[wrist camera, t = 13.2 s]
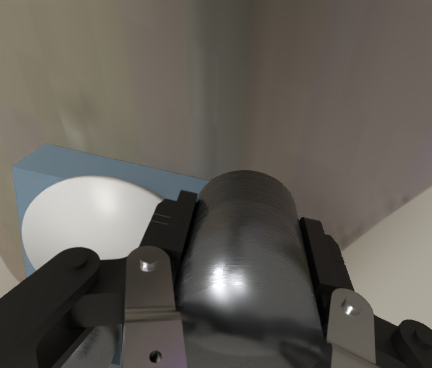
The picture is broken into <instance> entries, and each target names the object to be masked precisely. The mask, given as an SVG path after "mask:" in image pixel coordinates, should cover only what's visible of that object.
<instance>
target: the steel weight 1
mask: <svg viewBox="0 0 432 368" xmlns="http://www.w3.org/2000/svg"><path fill="white" fill-rule="evenodd" d="M121 331H122V324H116V325H106V326H96V327H95V328H94V329H93V331H92V332H91V333H90V334H89V335H88V336H87V338H86V339H85V340H84V341H83V342H82V343H81V345H80V346H79V347H78V348H77V349H76V350H75V352H74V353H73V354H72V355H71V356H70V357H69V359H68V360H67V361H66V362H65V363H64V364H63V366H62V367H61V368H109V367H110V365H111V362H112V360H113V357H114V355H115V352H116V350H117V347H118V345H119V342H120V340H121Z"/></svg>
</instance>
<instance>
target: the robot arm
mask: <svg viewBox="0 0 432 368" xmlns="http://www.w3.org/2000/svg"><path fill="white" fill-rule="evenodd" d="M197 196H198V193H194V192H190V191H185V190H180V193H179V196H178V199H177V201H175V200H170V199H164V200H163V201H161V202H160V203H159V204H157V207H156V209H155V211H154V214H153V216H152V218H151V221H150V222H149V225H148V227H147V229H146V231H145V234H144V236H143V238H142V240H141V243H140V245H139V247H138V248H136V249H134V250H133V251H131V252H130V254H129V255H128V256H127V257H124V258H120V259H106V260H100V258H99V256H98V254H97V253H96V252H95V251H93V250H91V249H89V248H85V247H73V248H69V249H66V250H63V251H61V252H60V253H58V254H57V255H56V256H54V257H53V258H52V259H50V260H49V261H48V262H47V263H45V264H44V265H43V266H41V267H40V268H39V269H38V270H36V271H35V272H34V273H32V274H31V275H30V276H29V277H27V278H26V279H25V280H23V281H22V282H21V283H20V284H19V285H17V286H16V287H14V288H13V289H12V290H11V291H9V292H8V293H7V294H5V295H4V296H3V297H2V298H0V368H61V367H62V366H63V364H64V363H65V362H66V361H67V360H68V359H69V357H70V356H71V355H72V354H73V353H74V352H75V350H76V349H77V348H78V347H79V346H80V345H81V343H82V342H83V341H84V340H85V339H86V338H87V336H88V335H89V334H90V333H91V332H92V331H93V329H94V328H95V327H96V326H106V325H116V324H122V331H121V354H120V368H187V360H186V352H185V344H184V336H183V328H182V320H181V314H180V311H179V310H176V308H175V300H174V291H173V284H174V281H175V277H176V274H177V271H178V269H179V266H180V262H181V258H182V254H183V250H184V247H185V243H186V239H187V235H188V231H189V228H190V224H191V220H192V216H193V212H194V208H195V205H196V200H197ZM299 224H300V228H301V233H302V238H303V242H304V247H305V252H306V256H307V261H308V266H309V270H310V275H311V280H312V284H313V289H314V294H315V298H316V303H317V308H318V312H319V317H320V322H321V326H322V331H323V336H324V339H323V341H322V342H321V346H320V352H319V356H318V359H317V361H316V364H315V365H314V367H313V368H432V330H431V329H430V328H429V327H427V326H426V325H424V324H422V323H420V322H418V321H414V320H404V321H402V322H401V324H400V325H399V326H395V325H394V324H391V323H389V322H387V321H385V320H383V319H381V318H379V317H377V316H375V315H374V314H373V310H372V308H371V306H370V304H369V303H368V302H367V301H366V300H365V299H364V298H363V297H362V296H361V295H359V294H358V293H356V292H355V291H354V288H353V286H352V283H351V280H350V277H349V274H348V271H347V269H346V266H345V265H344V260H343V257H341V255H342V254H341V251H340V249H339V246H338V244H337V243H336V242H335V241H334V239H333V238H332V237H331V236H330V235H325V233H324V230H323V227H322V224H321V222H320V221H318V220H313V219H309V218H304V217H302V218H301V219H300V220H299Z"/></svg>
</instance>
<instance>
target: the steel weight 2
mask: <svg viewBox="0 0 432 368" xmlns="http://www.w3.org/2000/svg"><path fill="white" fill-rule="evenodd" d="M173 291H174V300H175V308H176V310H179V311H180V314H181V320H182V328H183V336H184V344H185V352H186V360H187V368H313V367H314V365H315V364H316V361H317V359H318V356H319V352H320V346H321V342H322V341H323V339H324V336H323V331H322V326H321V322H320V317H319V312H318V308H317V303H316V298H315V294H314V289H313V284H312V280H311V275H310V270H309V266H308V261H307V256H306V252H305V247H304V242H303V238H302V233H301V228H300V224H299V219H298V214H297V210H296V205H295V202H294V199H293V197H292V195H291V193H290V192H289V190H288V189H287V188H286V187H285V186H284V185H283V184H282V183H281V182H279V181H278V180H277V179H275V178H273V177H271V176H269V175H267V174H264V173H261V172H257V171H250V170H239V171H232V172H228V173H225V174H222V175H220V176H217V177H216V178H214V179H212V180H211V181H210V182H208V183H207V184H206V185H205V186H204V187H203V188H202V190H201V191H200V193H199V194H198V197H197V200H196V205H195V208H194V212H193V216H192V220H191V224H190V228H189V231H188V235H187V239H186V243H185V247H184V250H183V254H182V258H181V262H180V266H179V269H178V271H177V274H176V277H175V281H174V284H173Z"/></svg>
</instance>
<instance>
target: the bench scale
mask: <svg viewBox="0 0 432 368" xmlns="http://www.w3.org/2000/svg"><path fill="white" fill-rule="evenodd" d="M12 172H13V180H14V187H15V194H16V202H17V209H18V216H19V224H20V231H21V238H22V246H23V253H24V260H25V268H26V275H27V277H29V276H30V275H31V274H32V273H34V272H35V271H36V270H38V269H39V268H40V267H41V266H43V265H44V264H45V263H47V262H48V261H49V260H50V259H52V258H53V257H54V256H56V255H57V254H58V253H60V252H61V251H63V250H66V249H69V248H73V247H85V248H89V249H91V250H93V251H95V252H96V253H97V254H98V256H99V258H100V260H106V259H120V258H124V257H127V256H128V255H129V254H130V252H131V251H133V250H134V249H136V248H138V247H139V245H140V243H141V240H142V238H143V236H144V234H145V231H146V229H147V227H148V225H149V222H150V221H151V218H152V216H153V214H154V211H155V209H156V207H157V204H159V203H160V202H161V201H163V200H164V199H170V200H175V201H177V199H178V196H179V193H180V190H185V191H190V192H194V193H198V194H199V193H200V191H201V190H202V188H203V187H204V186H205V185H206V184H207V183H208V182H210V181H207V180H203V179H199V178H194V177H190V176H185V175H181V174H177V173H172V172H168V171H164V170H159V169H155V168H150V167H146V166H142V165H137V164H133V163H128V162H124V161H120V160H115V159H111V158H107V157H102V156H98V155H93V154H89V153H85V152H80V151H76V150H71V149H67V148H63V147H58V146H54V145H50V144H45V145H44V146H42V147H41V148H39V149H38V150H36V151H35V152H33V153H32V154H30V155H29V156H27V157H26V158H24V159H23V160H21V161H20V162H18V163H17V164H15V165H14V166H12ZM197 197H198V196H197ZM120 354H121V340H120V342H119V345H118V347H117V350H116V352H115V355H114V357H113V360H112V362H111V365H110V367H109V368H120Z"/></svg>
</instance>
